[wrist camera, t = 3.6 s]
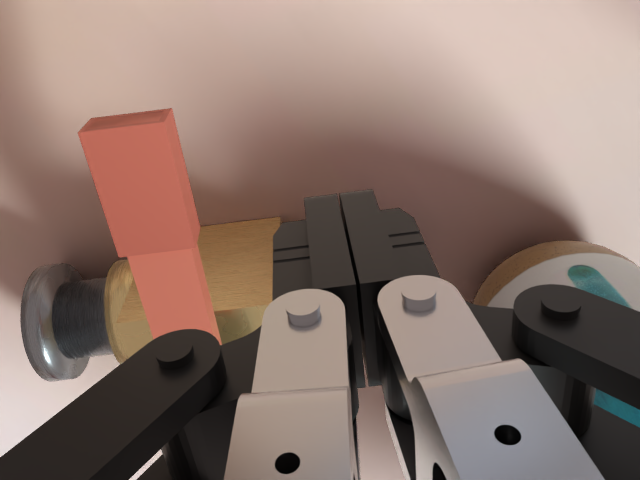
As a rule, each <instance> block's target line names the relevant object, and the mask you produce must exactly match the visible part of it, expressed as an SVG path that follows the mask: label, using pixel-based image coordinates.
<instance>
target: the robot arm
mask: <svg viewBox="0 0 640 480" xmlns="http://www.w3.org/2000/svg"><path fill="white" fill-rule="evenodd" d="M339 200H340V207H339V202H338V198H337V194H331V195H323V196H316V197H308V198H304V204H305V214H306V220H301V221H293V222H285V223H282V224H281V226H280V227H279V228H278V230H277V231H276V232H275V234H274V235H273V288H272V302H271V303H270V304H269V305H268V307H267V308H266V310H265V311H264V315H263V320H262V325H261V326H260V327H259V328H258V329H256V330H255V331H253V332H252V333H250V334H248V335H246V336H244V337H241V338H239V339H236V340H233V341H231V342H228V343H225V344H222V345H220V344H219V341H218V340H217V339H216V337H215V336H213V335H212V334H210V333H208V332H206V331H203V330H198V329H182V330H177V331H172V332H169V333H166V334H164V335H161V336H159V337H157V338H155V339H154V340H152V341H151V342H149V343H148V344H146V345H145V346H144V347H142V348H141V349H140V350H139V351H137V352H136V353H135V354H133V355H132V356H131V357H129V358H128V359H127V360H126V361H124V362H123V363H122V364H120V365H119V366H118V367H117V368H115V369H114V370H113V371H111V372H110V373H109V374H108V375H106V376H105V377H104V378H102V379H101V380H100V381H98V382H97V383H96V384H95V385H93V386H92V387H91V388H89V389H88V390H87V391H86V392H84V393H83V394H82V395H80V396H79V397H78V398H77V399H75V400H74V401H73V402H71V403H70V404H69V405H67V406H66V407H65V408H64V409H62V410H61V411H60V412H58V413H57V414H56V415H55V416H53V417H52V418H51V419H49V420H48V421H47V422H46V423H44V424H43V425H42V426H40V427H39V428H38V429H36V430H35V431H34V432H33V433H31V434H30V435H29V436H27V437H26V438H25V439H24V440H22V441H21V442H20V443H18V444H17V445H16V446H15V447H13V448H12V449H11V450H9V451H8V452H7V453H5V454H4V455H3V456H2V457H0V480H129V479H130V478H131V477H132V476H133V475H134V474H135V473H136V472H137V471H138V470H139V469H140V468H141V467H142V466H143V465H144V464H145V463H146V462H147V461H148V460H150V459H151V458H152V457H153V456H154V455H155V454H156V453H157V452H158V451H159V450H160V449H161V450H162V453H163V455H161V456H160V457H159V458H158V459H157V460H156V461H155V462H154V463H153V464H152V465H151V466H150V467H149V468H148V469H147V470H146V471H145V472H144V473H143V474H142V475H141V476H140V477H139V478H138V479H137V480H361V475H360V459H359V443H358V426H357V417H356V415H357V413H358V408H359V400H358V391H357V388H363V387H365V376H364V365H363V358H364V363H365V368H366V373H367V378H368V384H369V386H377V385H382V389H383V393H384V400H385V414H386V421H387V424H388V428H389V431H390V434H391V437H392V440H393V443H394V447H395V450H396V453H397V456H398V459H399V462H400V465H401V469H402V472H403V475H404V478H405V480H640V427H638V426H636V425H634V424H632V423H630V422H628V421H626V420H624V419H622V418H620V417H618V416H616V415H614V414H612V413H610V412H608V411H606V410H604V409H603V408H601V407H599V406H597V405H595V404H594V399H595V393H596V389H598V390H600V391H602V392H604V393H606V394H608V395H610V396H612V397H614V398H616V399H618V400H620V401H623V402H625V403H627V404H629V405H631V406H633V407H635V408H637V409H639V410H640V312H639V311H636V310H634V309H631V308H629V307H626V306H623V305H621V304H618V303H615V302H613V301H610V300H608V299H605V298H602V297H600V296H597V295H595V294H592V293H589V292H587V291H584V290H581V289H578V288H575V287H571V286H567V285H559V284H545V285H538V286H534V287H531V288H528V289H526V290H524V291H523V292H521V293H520V294H519V295H518V296H517V297H516V299H515V301H514V305H513V309H511V308H499V307H488V306H480V305H476V304H472V303H469V302H466V301H465V300H464V299H463V297H462V296H461V294H460V292H459V291H458V290H457V288H456V287H455V286H454V285H452V284H451V283H449V282H448V281H446V280H443V279H441V278H440V276H439V273H438V271H437V269H436V267H435V264H434V262H433V260H432V258H431V255H430V253H429V251H428V249H427V247H426V244H424V240H423V238H422V235H421V233H420V231H419V229H418V226H417V224H416V222H415V220H414V218H413V217H412V216H410V215H409V214H407V213H406V212H404V211H403V210H401V209H400V208H395V209H387V210H379V207H378V204H377V201H376V198H375V195H374V192H373V190H372V189H370V190H362V191H354V192H346V193H339ZM340 211H341V212H340ZM362 353H363V354H362Z"/></svg>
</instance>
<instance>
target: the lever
mask: <svg viewBox="0 0 640 480" xmlns="http://www.w3.org/2000/svg"><path fill="white" fill-rule="evenodd" d="M78 135H79V138H80V141H81V144H82V147H83V150H84V153H85V156H86V159H87V162H88V165H89V168H90V171H91V174H92V177H93V181H94V184H95V187H96V190H97V193H98V196H99V199H100V202H101V205H102V208H103V211H104V214H105V217H106V220H107V223H108V226H109V229H110V232H111V235H112V238H113V241H114V244H115V247H116V251H117V254H118V257H119V258H120V257H127V258H128V261H129V264H130V268H131V271H132V274H133V277H134V280H135V283H136V286H137V289H138V293H139V296H140V299H141V302H142V305H143V308H144V311H145V314H146V318H147V321H148V324H149V327H150V330H151V333H152V336H153V339H155V338H157V337H159V336H161V335H164V334H166V333H169V332H172V331H177V330H182V329H198V330H203V331H206V332H208V333H210V334H212V335H213V336H215V337H216V339H217V340H218V341H219V344H220V345H222V343H221V339H220V334H219V330H218V326H217V322H216V318H215V314H214V310H213V306H212V302H211V298H210V294H209V290H208V286H207V282H206V278H205V273H204V269H203V265H202V261H201V257H200V253H199V249H198V245H197V240H198V236H199V232H200V224H199V220H198V216H197V212H196V207H195V203H194V199H193V195H192V191H191V186H190V182H189V178H188V174H187V170H186V166H185V161H184V157H183V153H182V149H181V145H180V140H179V136H178V132H177V128H176V124H175V120H174V115H173V111H172V108H170V109H162V110H154V111H146V112H138V113H130V114H121V115H113V116H105V117H97V118H91V119H90V120H89V121H88V122H87V123H86V124H85V125H84V126H83V128H82V129H81V130H80V131H79V132H78Z"/></svg>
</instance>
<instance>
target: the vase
mask: <svg viewBox="0 0 640 480" xmlns="http://www.w3.org/2000/svg"><path fill="white" fill-rule="evenodd" d="M545 284H559V285H567V286H571V287H575V288H578V289H581V290H584V291H587V292H589V293H592V294H595V295H597V296H600V297H602V298H605V299H608V300H610V301H613V302H615V303H618V304H621V305H623V306H626V307H629V308H631V309H634V310H636V311H639V312H640V267H639V266H637V265H636V264H635V263H633V262H632V261H630V260H629V259H627V258H626V257H624V256H622V255H620V254H618V253H616V252H614V251H612V250H610V249H608V248H606V247H603V246H599V245H595V244H592V243H588V242H581V241H568V240H566V241H552V242H546V243H541V244H538V245H535V246H531V247H529V248H526V249H524V250H522V251H520V252H518V253H516V254H514V255H513V256H511V257H509V258H508V259H506V260H505V261H504V262H502V263H501V264H500V265H499V266H497V267H496V268H495V269H494V270H493V271H492V272H491V273H490V275H489V276H488V277H487V278H486V280H485V281H484V282H483V284H482V285H481V287H480V289H479V291H478V293H477V295H476V297H475V299H474V302H473V304H476V305H480V306H488V307H499V308H511V309H513V305H514V301H515V299H516V297H517V296H518V295H519V294H520V293H521V292H523V291H524V290H526V289H528V288H531V287H534V286H538V285H545ZM594 404H595V405H597V406H599V407H601V408H603V409H604V410H606V411H608V412H610V413H612V414H614V415H616V416H618V417H620V418H622V419H624V420H626V421H628V422H630V423H632V424H634V425H636V426H638V427H640V410H639V409H637V408H635V407H633V406H631V405H629V404H627V403H625V402H623V401H620V400H618V399H616V398H614V397H612V396H610V395H608V394H606V393H604V392H602V391H600V390H598V389H596V393H595V399H594Z"/></svg>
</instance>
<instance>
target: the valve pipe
mask: <svg viewBox="0 0 640 480" xmlns="http://www.w3.org/2000/svg"><path fill="white" fill-rule="evenodd" d="M280 226H281V219H280V217H274V218H266V219H258V220H250V221H241V222H233V223H225V224H217V225H209V226H201V227H200V232H199V236H198V240H197V245H198V249H199V253H200V257H201V261H202V265H203V269H204V273H205V278H206V282H207V286H208V290H209V294H210V298H211V302H212V306H213V310H214V314H215V318H216V322H217V326H218V330H219V334H220V339H221V343H222V344H225V343H228V342H231V341H233V340H236V339H239V338H241V337H244V336H246V335H248V334H250V333H252V332H253V331H255V330H256V329H258V328H259V327H260V326H261V325H262V320H263V315H264V311H265V310H266V308H267V307H268V305H269V304H270V303H271V302H272V288H273V235H274V234H275V232H276V231H277V230H278V228H279V227H280ZM21 332H22V338H23V343H24V347H25V351H26V354H27V356H28V359H29V361H30V363H31V365H32V367H33V369H34V370H35V371H36V373H37V374H38V375H39V376H40V377H41V378H43V379H45V380H47V381H59V380H67V379H74V378H77V377H78V376H80V375H81V374H82V373H83V371H84V370H85V368H86V366H87V364H88V361H89V358H90V357H94V356H102V355H110V354H114V355H115V357H116V359H117V361H118V362H119V363H120V364H122V363H123V362H124V361H126V360H127V359H128V358H129V357H131V356H132V355H133V354H135V353H136V352H137V351H139V350H140V349H141V348H142V347H144V346H145V345H146V344H148V343H149V342H151V341H152V340H154V339H153V336H152V333H151V330H150V327H149V324H148V321H147V318H146V314H145V311H144V308H143V305H142V302H141V299H140V296H139V293H138V289H137V286H136V283H135V280H134V277H133V274H132V271H131V268H130V264H129V261H128V259H127V260H119V261H116V262H114V263H113V264H112V266H111V268H110V269H109V272H108V275H107V277H106V278H98V279H90V280H83V279H82V277H81V276H80V274H79V273H78V271H77V270H76V269H75V268H74V267H72V266H71V265H69V264H55V265H47V266H41V267H39V268H37V269H36V270H35V271H34V272H33V273H32V274H31V275H30V277H29V279H28V281H27V283H26V286H25V289H24V292H23V297H22V303H21Z"/></svg>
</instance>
